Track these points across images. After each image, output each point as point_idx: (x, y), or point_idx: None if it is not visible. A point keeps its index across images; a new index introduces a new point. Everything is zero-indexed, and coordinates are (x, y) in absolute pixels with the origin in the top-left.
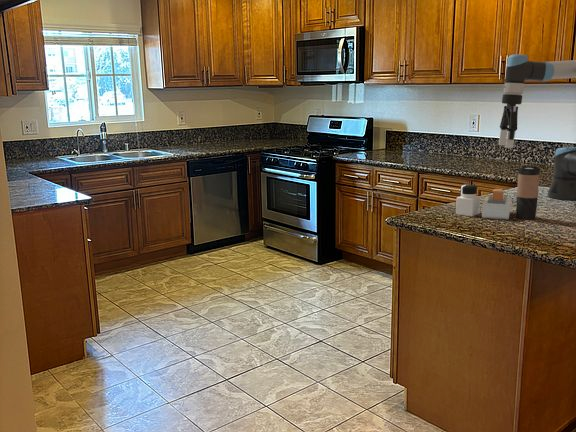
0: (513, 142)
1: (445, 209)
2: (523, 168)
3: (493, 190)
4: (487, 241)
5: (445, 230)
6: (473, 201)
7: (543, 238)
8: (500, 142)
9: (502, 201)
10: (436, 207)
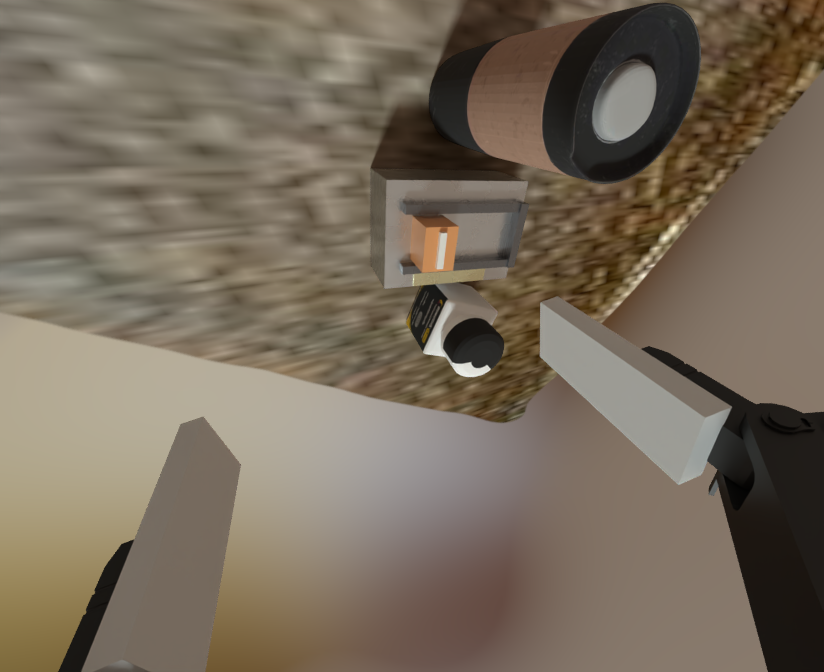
0: (600, 325)
1: (390, 369)
2: (661, 152)
3: (443, 269)
4: (697, 212)
5: (603, 310)
6: (493, 307)
7: (717, 53)
8: (230, 483)
9: (525, 213)
10: (370, 394)
